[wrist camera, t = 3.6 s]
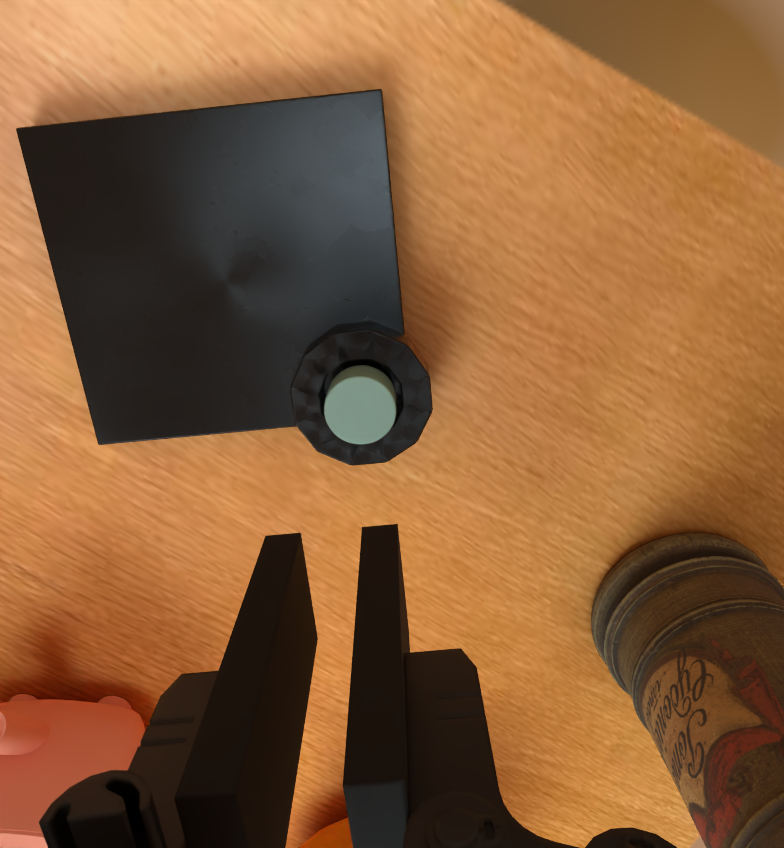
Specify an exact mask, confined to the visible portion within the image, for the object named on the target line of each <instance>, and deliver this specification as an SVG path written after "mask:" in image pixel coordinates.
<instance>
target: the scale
mask: <svg viewBox="0 0 784 848" xmlns="http://www.w3.org/2000/svg"><path fill="white" fill-rule="evenodd" d="M16 131H17V135H18V138H19V142H20V146H21V150H22V154H23V158H24V161H25V165H26V169H27V173H28V177H29V180H30V184H31V188H32V192H33V196H34V200H35V203H36V207H37V211H38V215H39V219H40V223H41V226H42V230H43V234H44V238H45V242H46V246H47V249H48V253H49V257H50V261H51V265H52V269H53V272H54V276H55V280H56V284H57V288H58V292H59V295H60V299H61V303H62V307H63V311H64V315H65V318H66V322H67V326H68V330H69V334H70V338H71V341H72V345H73V349H74V353H75V357H76V361H77V364H78V368H79V372H80V376H81V380H82V384H83V387H84V391H85V395H86V399H87V403H88V407H89V410H90V414H91V418H92V422H93V426H94V430H95V433H96V437H97V441H98V444H99V445H104V444H115V443H125V442H136V441H147V440H157V439H168V438H178V437H189V436H200V435H210V434H221V433H232V432H242V431H253V430H263V429H274V428H285V427H295V426H297V427H298V428H299V430H300V431H301V432H302V433H303V435H304V436H305V437H306V438H307V440H308V441H309V442H310V443H311V444H312V446H313V447H314V448H315V449H316V451H318V452H319V453H322V454H324V455H327V456H329V457H332V458H334V459H336V460H339V461H341V462H344V463H346V464H349V465H363V464H374V463H384V462H387V461H390V460H391V459H393V458H394V457H396V456H397V455H399V454H400V453H402V452H403V451H405V450H406V449H408V448H409V447H411V446H412V445H414V444H415V443H416V442H417V441H418V439H419V437H420V435H421V433H422V431H423V429H424V427H425V425H426V423H427V421H428V419H429V417H430V415H431V413H432V410H433V408H432V395H431V383H430V374H429V370H428V366H427V363H426V362H425V360H424V359H423V358H422V356H421V355H420V353H419V352H418V351H417V349H416V348H415V347H414V345H413V344H412V342H411V341H410V340H409V338H408V337H406V336H405V333H404V322H403V311H402V300H401V289H400V278H399V268H398V257H397V246H396V235H395V224H394V213H393V203H392V192H391V181H390V170H389V159H388V148H387V138H386V127H385V116H384V105H383V94H382V90H381V89H376V90H366V91H357V92H348V93H338V94H329V95H320V96H310V97H301V98H292V99H282V100H273V101H264V102H254V103H245V104H236V105H226V106H217V107H208V108H199V109H189V110H180V111H171V112H161V113H152V114H143V115H133V116H124V117H115V118H105V119H96V120H87V121H77V122H68V123H59V124H49V125H40V126H31V127H21V128H17V129H16ZM356 365H367V366H371V367H374V368H376V369H378V370H380V371H382V372H383V373H384V374H385V375H386V376H387V377H388V378H389V379H390V381H391V382H392V384H393V386H394V389H395V394H396V418H395V421H394V424H393V426H392V427H391V429H390V430H389V432H388V433H387V434H386V435H385V436H383V437H382V438H381V439H379V440H377V441H375V442H372V443H368V444H353V443H349V442H346V441H344V440H342V439H341V438H339V437H338V436H336V435H335V434H334V433H333V432H332V430H331V429H330V428H329V426H328V424H327V422H326V419H325V415H324V404H325V400H326V396H327V393H328V390H329V387H330V384H331V382H332V380H333V379H334V378H335V377H336V375H337V374H339V373H340V372H341V371H343V370H344V369H346V368H348V367H351V366H356Z"/></svg>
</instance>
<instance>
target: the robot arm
mask: <svg viewBox="0 0 784 848" xmlns="http://www.w3.org/2000/svg"><path fill="white" fill-rule="evenodd" d="M317 640H318V638H317V631H316V625H315V619H314V613H313V607H312V600H311V594H310V588H309V582H308V575H307V569H306V563H305V557H304V551H303V544H302V538H301V533H293V534H281V535H270V536H265V539H264V542H263V545H262V548H261V551H260V554H259V556H258V559H257V562H256V565H255V568H254V571H253V574H252V576H251V579H250V582H249V585H248V588H247V591H246V594H245V597H244V599H243V602H242V605H241V608H240V611H239V614H238V617H237V620H236V622H235V625H234V628H233V631H232V634H231V637H230V640H229V642H228V645H227V648H226V651H225V654H224V657H223V660H222V663H221V665H220V668H219V671H211V672H199V673H188V674H181V675H180V676H179V677H178V678H177V679H176V680H175V682H174V683H173V684H172V685H171V686H170V687H169V688H168V689H167V690H166V691H165V692H164V693H163V694H162V695H161V696H160V699H159V701H158V703H157V705H156V708H155V710H154V712H153V714H152V717H151V719H150V725H149V726H147V728H146V730H145V732H144V735H143V737H142V739H141V745H140V746H138V748H137V750H136V753H135V755H134V757H133V759H132V762H131V764H130V766H129V768H128V770H110V771H106V772H103V773H99V774H95V775H92V776H89V777H88V778H86V779H84V780H82V781H80V782H78V783H77V784H75V785H73V786H71V787H69V788H68V789H67V790H66V791H65V792H64V793H63V794H62V795H60V796H59V797H58V798H57V799H56V800H55V801H54V802H52V803H51V805H50V806H49V808H48V809H47V811H46V812H45V813H44V815H43V816H42V818H41V819H40V821H39V825H40V827H41V830H42V833H43V836H44V838H45V841H46V844H47V847H48V848H285V847H286V840H287V834H288V827H289V821H290V814H291V808H292V801H293V795H294V788H295V782H296V775H297V769H298V763H299V756H300V750H301V743H302V737H303V730H304V724H305V717H306V711H307V704H308V698H309V691H310V685H311V679H312V672H313V666H314V659H315V653H316V646H317ZM343 789H344V795H345V802H346V808H347V814H348V820H349V827H350V833H351V839H352V845H353V848H578V847H574V846H570V845H566V844H562V843H557V842H554V841H551V840H548V839H545V838H542V837H539V836H537V835H535V834H534V833H532V832H530V831H529V830H527V829H525V828H524V827H523V826H522V825H521V824H519V823H518V822H517V821H516V820H515V819H514V818H513V817H512V816H511V814H510V813H509V811H508V810H507V808H506V807H505V805H504V803H503V800H502V797H501V794H500V791H499V787H498V781H497V776H496V770H495V765H494V759H493V754H492V749H491V743H490V738H489V732H488V727H487V721H486V716H485V711H484V705H483V700H482V696H481V689H480V683H479V678H478V673H477V668H476V666H475V665H474V664H473V663H472V661H471V660H470V659H469V658H468V657H467V655H466V654H465V653H464V652H463V650H462V649H461V648H460V649H448V650H436V651H424V652H413V653H410V646H409V628H408V619H407V609H406V600H405V590H404V581H403V572H402V562H401V553H400V543H399V534H398V524H393V525H382V526H371V527H362V536H361V550H360V563H359V576H358V590H357V603H356V617H355V630H354V643H353V657H352V670H351V683H350V697H349V710H348V723H347V737H346V750H345V764H344V777H343ZM585 848H677V847H676V846H674V845H672V844H671V843H669V842H668V841H666V840H664V839H663V838H661V837H660V836H658V835H657V834H654V833H650V832H647V831H643V830H640V829H636V828H616V829H610V830H608V831H605V832H603V833H601V834H599V835H597V836H595V837H593V838H592V840H591V841H590V842H589V844H588V845H587V846H586V847H585Z"/></svg>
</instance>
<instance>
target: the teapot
mask: <svg viewBox="0 0 784 848" xmlns="http://www.w3.org/2000/svg"><path fill="white" fill-rule="evenodd" d="M144 732H145V727H144V723H143V720H142V718H141V716H140V715H139V714H138V713H137V712H135V711H133V710H132V708H131V706H130V704H129V703H128V702H127V701H126V700H124V699H123V698H120V697H117V696H107V697H104V698H102V699H101V700H99V702H98V703H93V702H84V701H74V700H57V699H41V700H38V699H37V698H35V697H33V696H31V695H27V694H18V695H15V696H13V697H12V698H11V699H10V700H9V702H1V703H0V848H48V847H47V844H46V841H45V838H44V836H43V833H42V830H41V827H40V825H39V821H40V819H41V818H42V816H43V815H44V813H45V812H46V811H47V809H48V808H49V806H50V805H51V803H52V802H54V801H55V800H56V799H57V798H58V797H59V796H60V795H62V794H63V793H64V792H65V791H66V790H67V789H68V788H69V787H71V786H73V785H75V784H77V783H78V782H80V781H82V780H84V779H86V778H88V777H89V776H92V775H95V774H99V773H103V772H106V771H110V770H128V768H129V766H130V764H131V762H132V759H133V757H134V755H135V753H136V750H137V748H138V746H140V745H141V739H142V737H143V735H144Z"/></svg>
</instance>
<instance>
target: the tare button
mask: <svg viewBox="0 0 784 848" xmlns="http://www.w3.org/2000/svg"><path fill="white" fill-rule="evenodd" d="M324 415H325V419H326V422H327V424H328V426H329V428H330V429H331V430H332V432H333V433H334V434H335V435H336V436H338V437H339V438H341V439H342V440H344V441H346V442H349V443H353V444H368V443H372V442H375V441H377V440H379V439H381V438H382V437H383V436H385V435H386V434H387V433H388V432H389V430H390V429H391V427H392V426H393V424H394V421H395V418H396V394H395V389H394V386H393V384H392V382H391V381H390V379H389V378H388V377H387V376H386V375H385V374H384V373H383V372H382V371H380V370H378V369H376V368H374V367H371V366H367V365H356V366H351V367H348V368H346V369H344V370H343V371H341V372H340V373H339V374H337V375H336V377H335V378H334V379H333V380H332V382H331V384H330V387H329V390H328V393H327V396H326V400H325V404H324Z"/></svg>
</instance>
